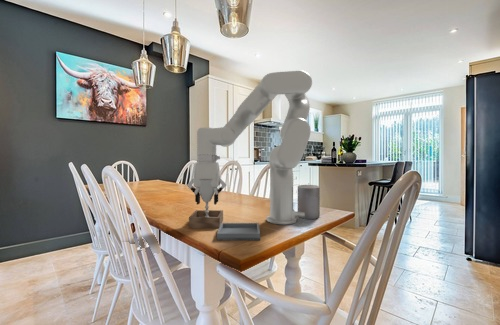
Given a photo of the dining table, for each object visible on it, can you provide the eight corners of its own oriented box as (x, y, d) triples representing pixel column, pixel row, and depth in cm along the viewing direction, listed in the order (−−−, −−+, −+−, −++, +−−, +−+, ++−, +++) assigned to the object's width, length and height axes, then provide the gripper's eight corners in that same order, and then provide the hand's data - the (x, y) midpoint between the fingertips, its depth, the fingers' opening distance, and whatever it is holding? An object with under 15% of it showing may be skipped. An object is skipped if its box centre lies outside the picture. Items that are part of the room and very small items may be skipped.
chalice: (217, 221, 98) (217, 178, 98) (213, 226, 91) (213, 179, 91) (200, 220, 99) (200, 177, 98) (195, 225, 92) (195, 179, 92)
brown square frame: (223, 219, 101) (223, 210, 101) (219, 228, 89) (219, 217, 89) (195, 219, 101) (195, 210, 101) (188, 228, 89) (188, 217, 89)
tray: (258, 228, 89) (258, 222, 89) (260, 240, 77) (260, 233, 77) (221, 228, 89) (221, 222, 89) (216, 240, 77) (216, 233, 77)
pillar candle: (305, 212, 114) (305, 181, 113) (324, 216, 106) (324, 183, 106) (293, 216, 107) (292, 183, 107) (311, 220, 100) (311, 185, 99)
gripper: (229, 158, 98) (229, 202, 99) (187, 158, 98) (187, 202, 99) (227, 159, 91) (227, 206, 91) (182, 159, 91) (182, 205, 91)
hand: (206, 203), depth 95 cm, fingers closed on chalice, 6 cm apart
